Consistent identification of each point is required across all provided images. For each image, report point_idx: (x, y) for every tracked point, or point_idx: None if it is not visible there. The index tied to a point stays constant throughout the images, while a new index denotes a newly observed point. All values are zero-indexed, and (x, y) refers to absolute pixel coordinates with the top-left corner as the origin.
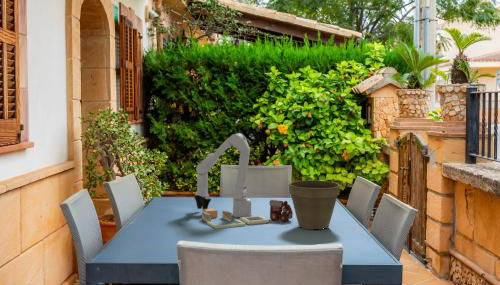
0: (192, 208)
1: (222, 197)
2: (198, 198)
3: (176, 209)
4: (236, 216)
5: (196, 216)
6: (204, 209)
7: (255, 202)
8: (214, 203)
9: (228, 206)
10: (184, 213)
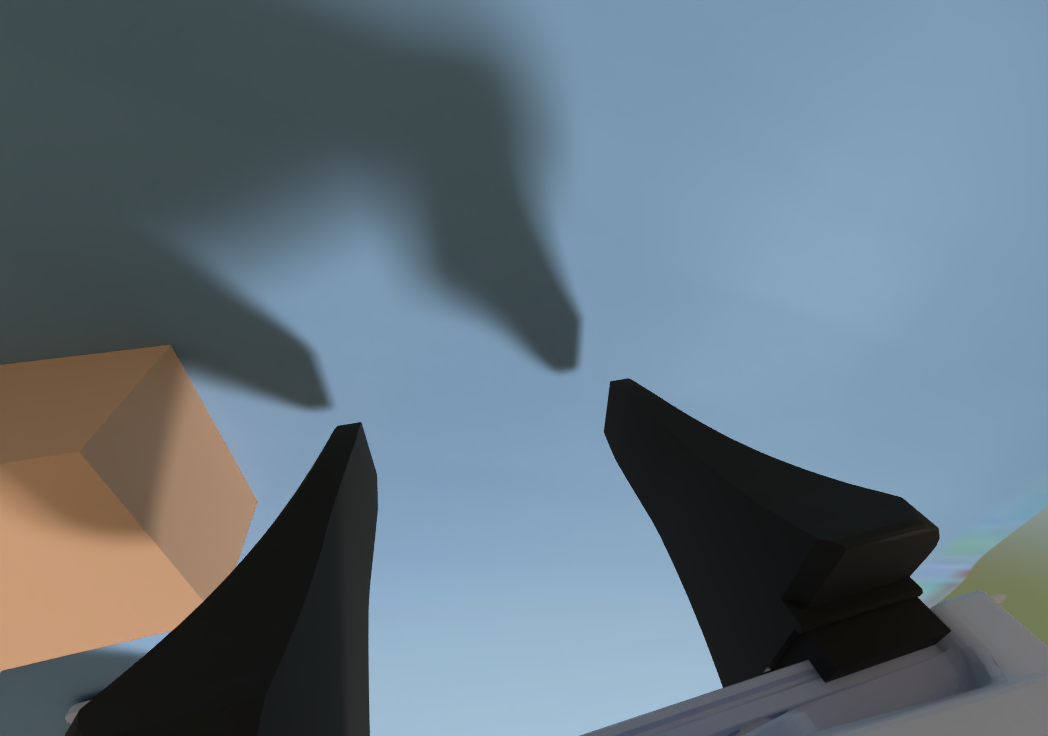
0: (841, 330)
1: (944, 588)
2: (742, 561)
3: (1004, 15)
4: (66, 719)
5: (129, 211)
6: (25, 488)
7: None
8: None
9: (683, 621)
10: (572, 24)
